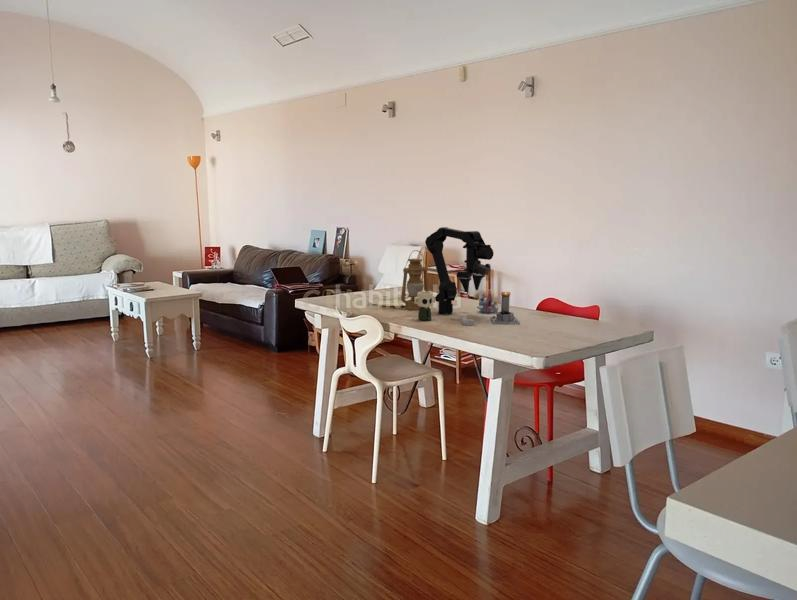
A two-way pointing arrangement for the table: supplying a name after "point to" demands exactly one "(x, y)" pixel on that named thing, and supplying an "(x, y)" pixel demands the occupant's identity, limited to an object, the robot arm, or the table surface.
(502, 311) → the copper-capped metal post
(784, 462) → the table surface
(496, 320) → the silver bolted socket base
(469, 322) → the loose bracket
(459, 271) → the robot arm
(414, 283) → the lantern
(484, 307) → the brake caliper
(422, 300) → the big-eyed figurine
